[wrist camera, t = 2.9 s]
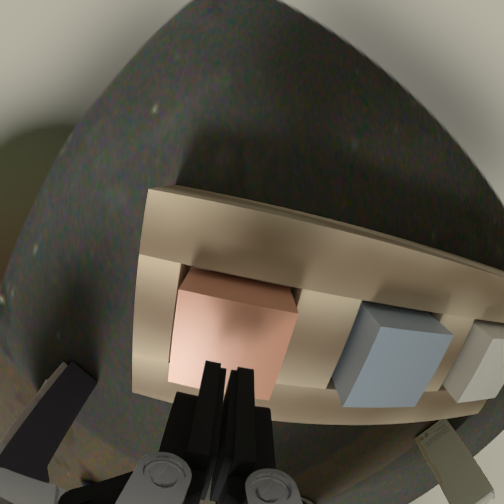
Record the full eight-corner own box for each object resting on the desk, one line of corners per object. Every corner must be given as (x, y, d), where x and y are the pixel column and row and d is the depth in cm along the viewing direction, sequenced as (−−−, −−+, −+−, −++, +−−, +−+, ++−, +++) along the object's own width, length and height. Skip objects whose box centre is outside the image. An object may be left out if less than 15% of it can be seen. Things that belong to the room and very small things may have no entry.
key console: (453, 383, 22) (478, 413, 17) (153, 349, 21) (132, 391, 16) (504, 271, 19) (540, 290, 15) (174, 184, 18) (148, 188, 13)
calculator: (66, 352, 21) (-29, 473, 6) (104, 385, 22) (30, 520, 7) (36, 401, 23) (-27, 491, 8) (66, 426, 24) (13, 523, 9)
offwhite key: (476, 377, 17) (495, 397, 14) (437, 378, 17) (456, 403, 14) (503, 323, 16) (526, 340, 13) (467, 318, 16) (493, 338, 13)
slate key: (396, 378, 17) (414, 406, 14) (330, 374, 17) (342, 407, 14) (428, 312, 16) (453, 335, 13) (359, 300, 15) (380, 326, 12)
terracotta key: (266, 366, 16) (269, 400, 13) (179, 349, 16) (167, 381, 13) (289, 287, 15) (298, 313, 12) (191, 266, 15) (178, 289, 12)
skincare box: (412, 437, 24) (453, 518, 12) (445, 413, 23) (494, 489, 12) (425, 454, 25) (460, 523, 14) (454, 433, 25) (495, 498, 13)
